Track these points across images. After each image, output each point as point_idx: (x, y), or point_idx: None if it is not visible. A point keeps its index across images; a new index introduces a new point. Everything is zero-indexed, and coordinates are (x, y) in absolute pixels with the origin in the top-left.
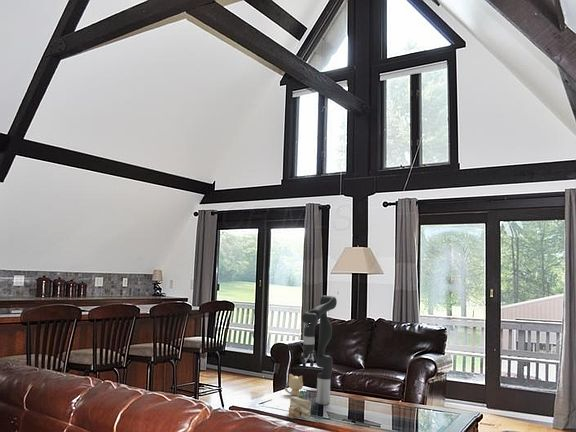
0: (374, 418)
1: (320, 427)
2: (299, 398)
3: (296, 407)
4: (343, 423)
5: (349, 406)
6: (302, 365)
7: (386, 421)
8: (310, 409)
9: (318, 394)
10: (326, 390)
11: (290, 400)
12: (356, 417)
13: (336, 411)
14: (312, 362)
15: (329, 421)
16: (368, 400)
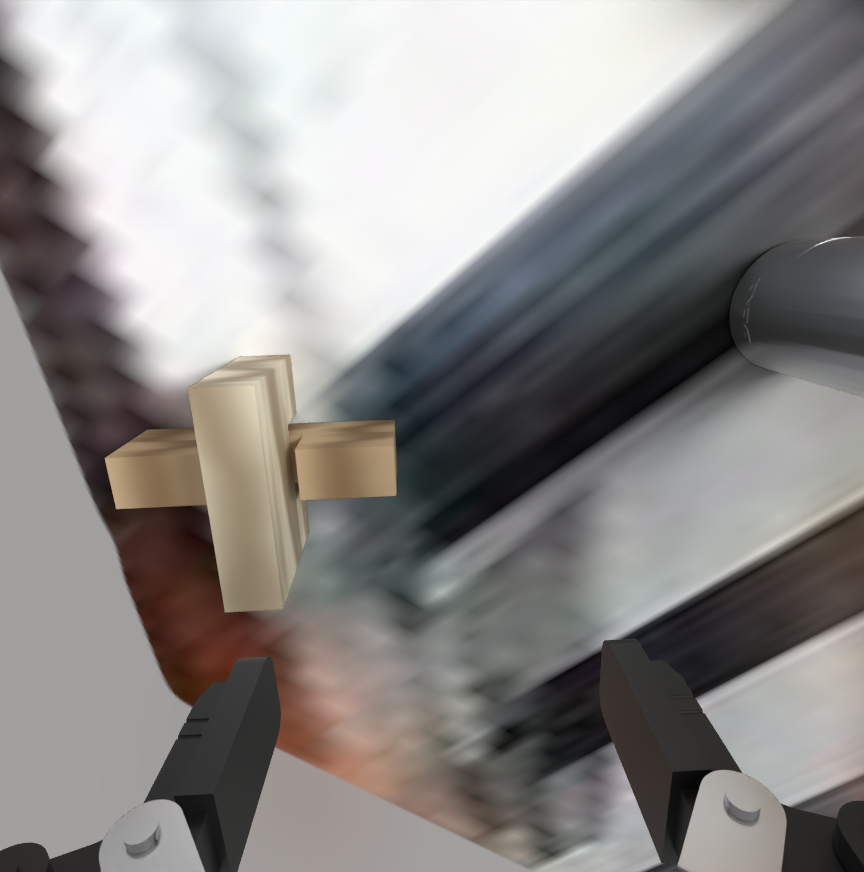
0: None
1: None
2: (253, 475)
3: (173, 500)
4: (407, 732)
5: (857, 512)
6: (177, 740)
7: None
8: (297, 565)
9: (791, 305)
10: (859, 395)
11: (200, 382)
12: None
13: (634, 541)
14: (650, 814)
15: (360, 662)
16: None
